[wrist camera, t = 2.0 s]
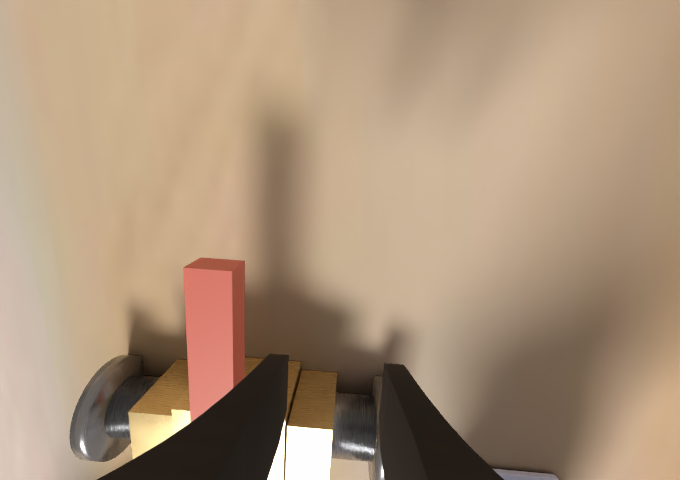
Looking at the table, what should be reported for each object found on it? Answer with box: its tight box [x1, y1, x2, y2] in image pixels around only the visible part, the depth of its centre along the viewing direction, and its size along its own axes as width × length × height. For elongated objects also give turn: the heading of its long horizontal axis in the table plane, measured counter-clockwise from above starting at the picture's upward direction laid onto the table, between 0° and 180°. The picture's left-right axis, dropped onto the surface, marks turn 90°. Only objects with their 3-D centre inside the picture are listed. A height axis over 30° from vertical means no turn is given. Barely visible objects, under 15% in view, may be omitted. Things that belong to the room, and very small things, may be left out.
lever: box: [183, 258, 245, 422], centre depth 14 cm, size 13×3×2 cm, turn 176°
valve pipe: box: [70, 355, 385, 480], centre depth 20 cm, size 18×6×6 cm, turn 86°
